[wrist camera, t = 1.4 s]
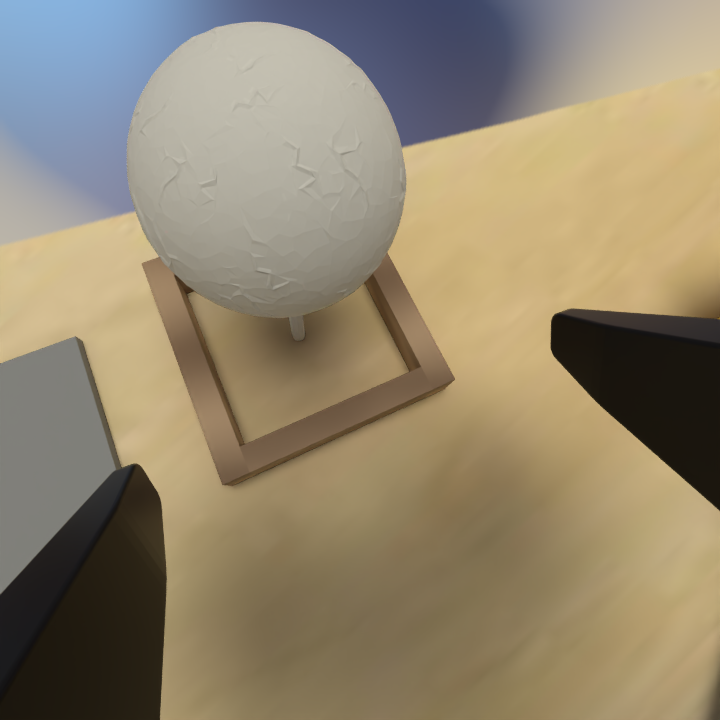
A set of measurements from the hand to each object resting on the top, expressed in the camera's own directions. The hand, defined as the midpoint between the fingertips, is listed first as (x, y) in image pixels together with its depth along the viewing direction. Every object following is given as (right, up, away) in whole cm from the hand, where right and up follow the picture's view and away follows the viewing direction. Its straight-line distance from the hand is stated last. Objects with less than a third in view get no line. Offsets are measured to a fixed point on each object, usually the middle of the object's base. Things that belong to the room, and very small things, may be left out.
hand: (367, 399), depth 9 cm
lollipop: (-3, +2, +14) cm, 15 cm away
